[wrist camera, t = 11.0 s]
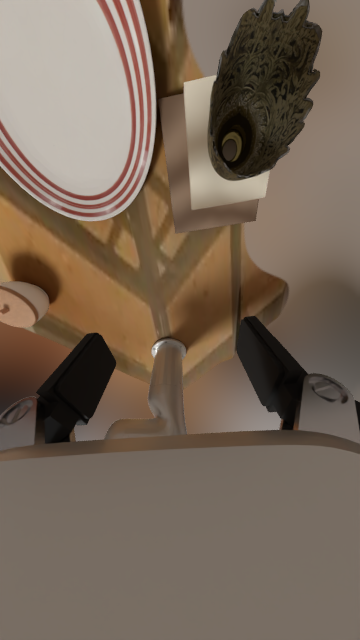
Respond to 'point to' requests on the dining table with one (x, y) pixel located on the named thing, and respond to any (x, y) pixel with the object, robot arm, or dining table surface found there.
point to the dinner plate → (77, 103)
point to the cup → (262, 89)
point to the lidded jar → (22, 303)
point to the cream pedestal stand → (202, 165)
